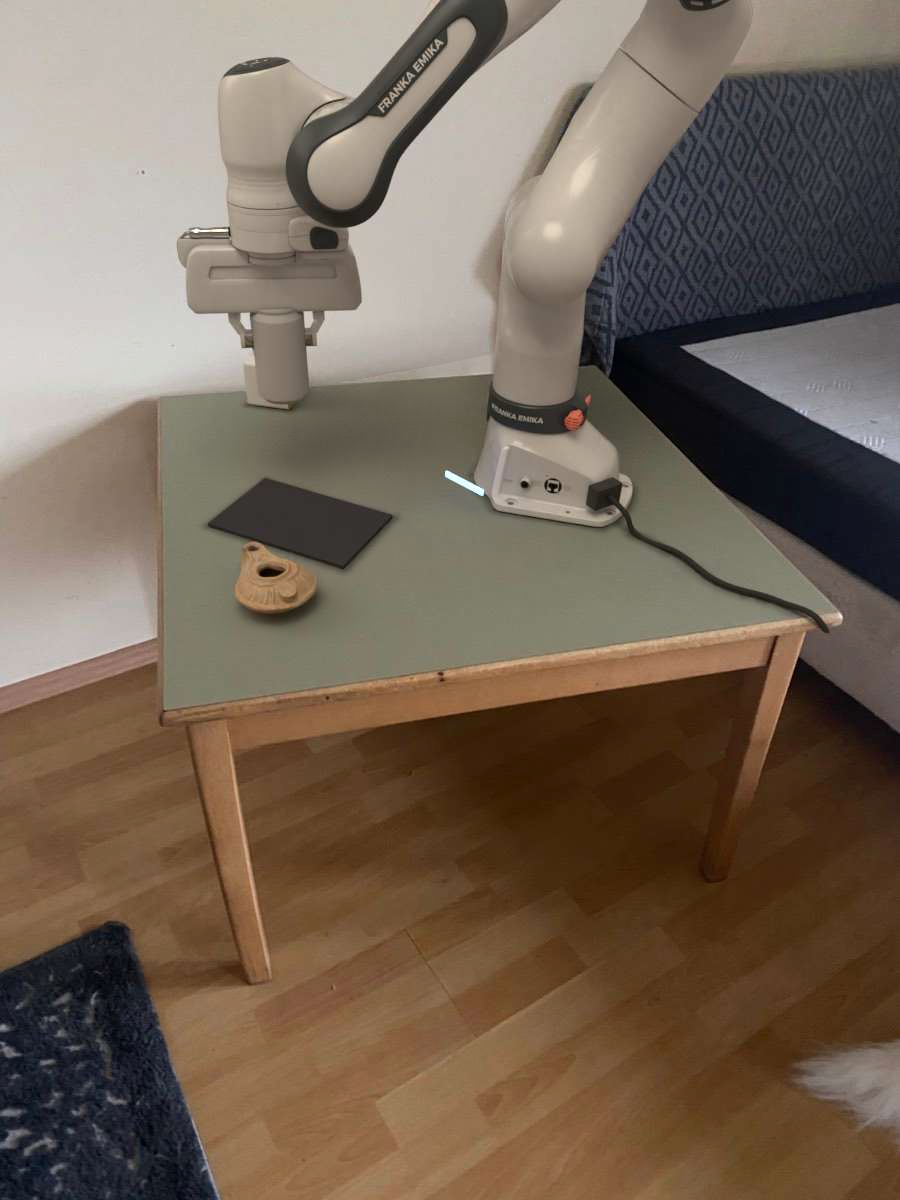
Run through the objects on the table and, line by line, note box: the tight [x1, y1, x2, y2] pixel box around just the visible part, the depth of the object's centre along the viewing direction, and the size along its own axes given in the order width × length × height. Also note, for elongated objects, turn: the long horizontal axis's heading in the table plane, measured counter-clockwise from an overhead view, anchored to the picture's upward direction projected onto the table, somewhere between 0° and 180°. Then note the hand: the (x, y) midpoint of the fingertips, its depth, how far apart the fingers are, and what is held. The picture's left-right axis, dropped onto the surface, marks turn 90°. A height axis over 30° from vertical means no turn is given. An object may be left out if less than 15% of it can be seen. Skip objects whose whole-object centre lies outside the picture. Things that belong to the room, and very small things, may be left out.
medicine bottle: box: [242, 348, 295, 410], centre depth 138 cm, size 7×7×12 cm
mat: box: [207, 477, 393, 570], centre depth 114 cm, size 20×13×1 cm, turn 66°
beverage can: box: [249, 308, 310, 405], centre depth 107 cm, size 6×6×12 cm
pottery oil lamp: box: [234, 541, 319, 614], centre depth 100 cm, size 9×12×7 cm
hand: (279, 345), depth 107 cm, fingers closed on beverage can, 6 cm apart
